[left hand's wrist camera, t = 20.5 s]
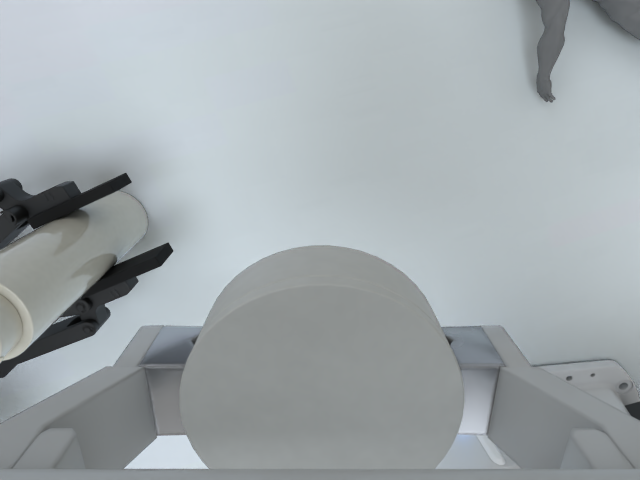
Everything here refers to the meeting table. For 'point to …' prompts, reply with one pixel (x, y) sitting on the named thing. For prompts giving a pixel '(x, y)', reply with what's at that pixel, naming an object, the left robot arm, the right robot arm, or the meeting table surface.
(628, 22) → the figurine
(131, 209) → the jar
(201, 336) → the lid
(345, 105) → the meeting table surface
